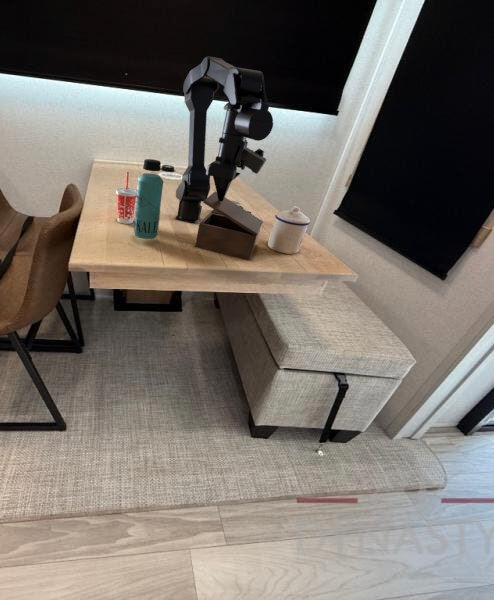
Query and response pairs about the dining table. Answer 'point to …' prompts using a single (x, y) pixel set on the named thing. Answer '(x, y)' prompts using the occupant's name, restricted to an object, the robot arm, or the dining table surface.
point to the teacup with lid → (288, 231)
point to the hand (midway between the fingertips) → (220, 201)
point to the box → (225, 236)
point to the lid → (234, 213)
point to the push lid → (236, 203)
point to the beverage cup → (126, 203)
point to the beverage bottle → (148, 201)
